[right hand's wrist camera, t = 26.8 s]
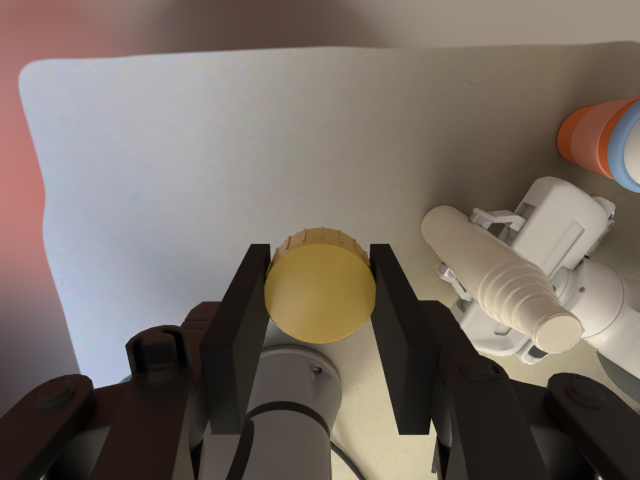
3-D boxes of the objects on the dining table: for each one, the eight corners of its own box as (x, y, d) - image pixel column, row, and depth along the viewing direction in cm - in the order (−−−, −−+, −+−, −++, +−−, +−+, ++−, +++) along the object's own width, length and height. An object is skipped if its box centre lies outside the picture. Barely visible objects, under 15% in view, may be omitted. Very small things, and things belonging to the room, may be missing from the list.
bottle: (470, 234, 44) (611, 350, 23) (430, 253, 45) (530, 380, 24) (455, 197, 43) (592, 283, 21) (414, 217, 44) (505, 319, 22)
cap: (362, 216, 14) (368, 231, 12) (378, 309, 15) (386, 334, 13) (257, 237, 14) (248, 254, 12) (282, 326, 15) (278, 353, 14)
